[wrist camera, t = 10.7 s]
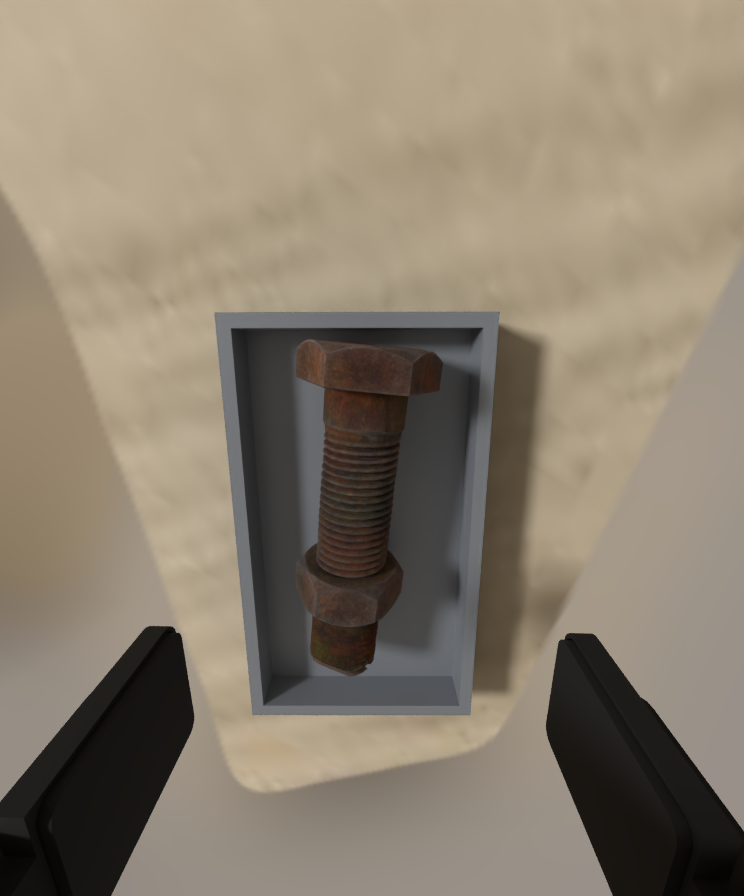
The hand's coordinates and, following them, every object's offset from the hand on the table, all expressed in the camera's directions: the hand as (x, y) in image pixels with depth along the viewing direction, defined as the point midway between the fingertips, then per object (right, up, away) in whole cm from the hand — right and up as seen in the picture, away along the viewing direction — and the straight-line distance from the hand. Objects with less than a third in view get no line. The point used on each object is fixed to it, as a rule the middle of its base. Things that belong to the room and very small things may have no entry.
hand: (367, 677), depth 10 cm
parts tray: (0, +2, +11) cm, 11 cm away
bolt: (-1, +3, +10) cm, 11 cm away
